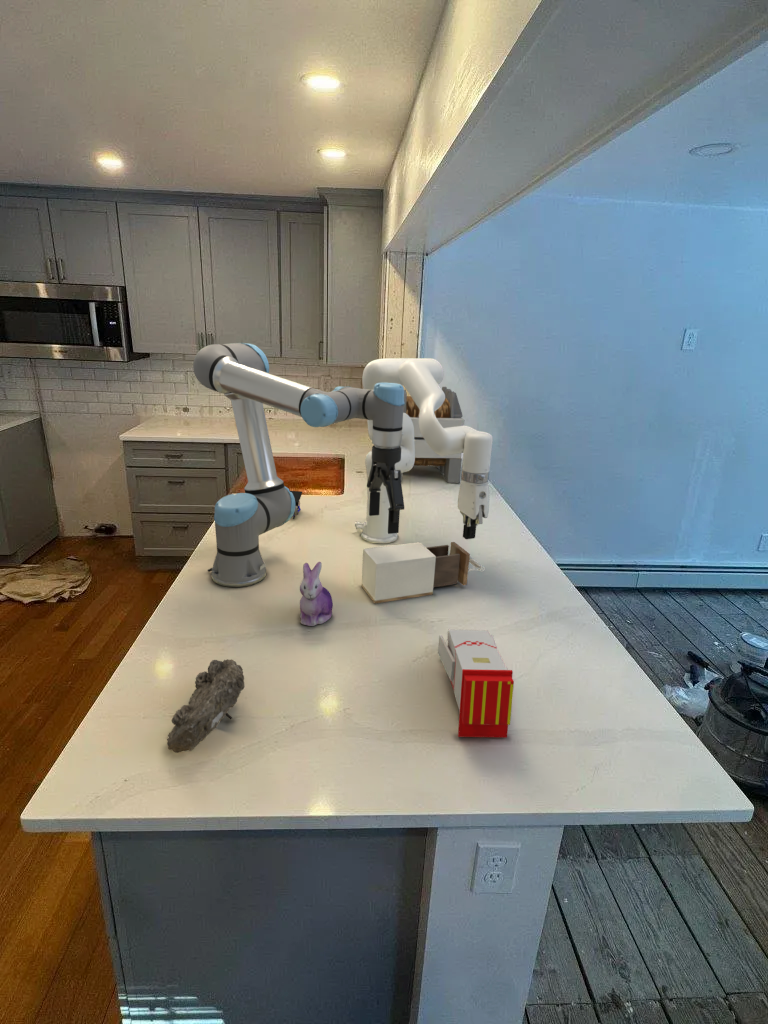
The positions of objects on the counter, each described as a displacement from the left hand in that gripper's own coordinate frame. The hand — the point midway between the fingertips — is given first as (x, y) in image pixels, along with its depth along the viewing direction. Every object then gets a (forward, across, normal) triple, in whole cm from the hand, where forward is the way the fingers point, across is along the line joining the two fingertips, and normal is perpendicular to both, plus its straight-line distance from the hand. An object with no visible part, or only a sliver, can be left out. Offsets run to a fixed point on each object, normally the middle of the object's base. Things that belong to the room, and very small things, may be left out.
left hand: (383, 523), depth 151 cm
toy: (+21, -46, -2) cm, 51 cm away
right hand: (+7, 0, -27) cm, 28 cm away
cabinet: (+21, 0, -5) cm, 21 cm away
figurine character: (+21, +68, +9) cm, 71 cm away
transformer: (+21, +108, -63) cm, 127 cm away
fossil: (+21, -37, +49) cm, 65 cm away
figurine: (+21, -8, +21) cm, 30 cm away
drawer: (+20, 0, -20) cm, 28 cm away
